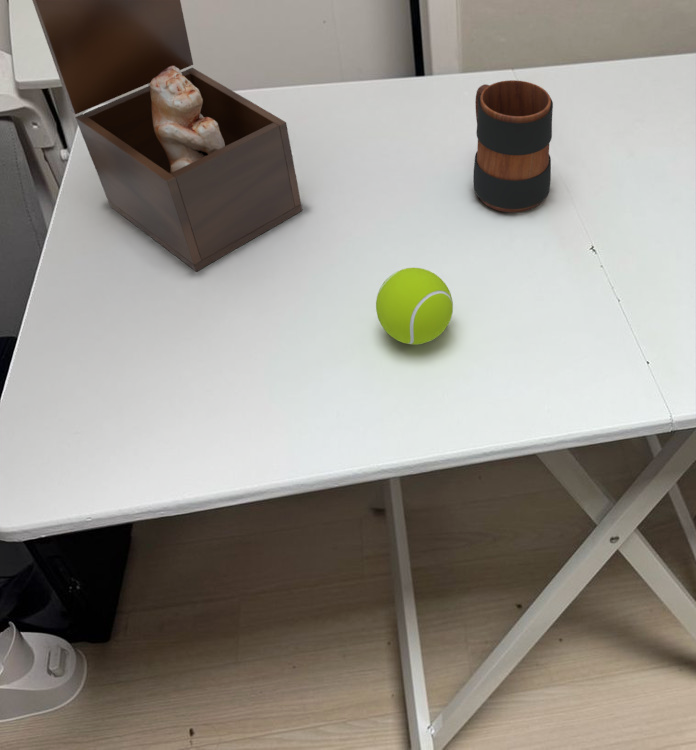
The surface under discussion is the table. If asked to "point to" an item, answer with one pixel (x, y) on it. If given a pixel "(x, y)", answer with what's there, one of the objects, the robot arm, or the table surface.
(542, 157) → the mug
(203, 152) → the figurine
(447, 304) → the tennis ball
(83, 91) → the lid
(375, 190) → the table surface
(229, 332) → the table surface
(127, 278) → the table surface
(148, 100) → the chest
